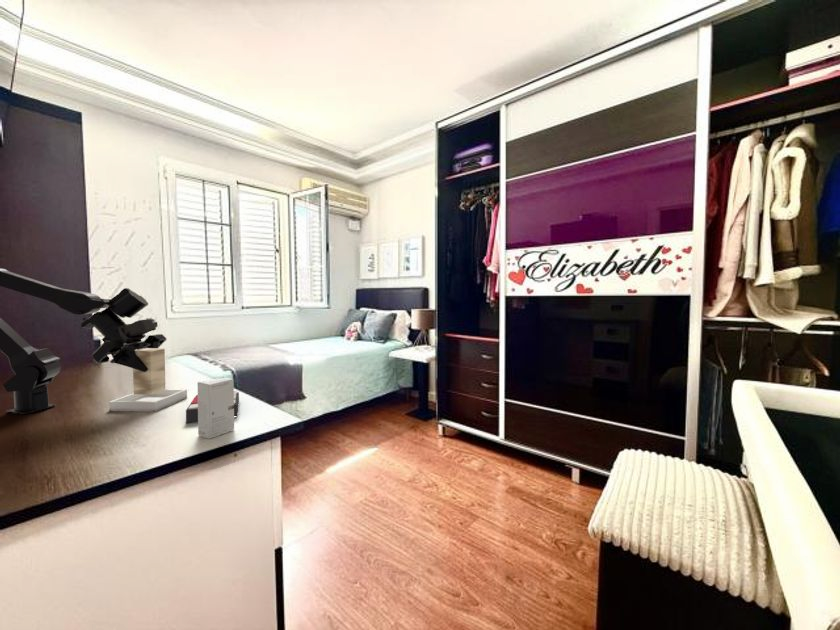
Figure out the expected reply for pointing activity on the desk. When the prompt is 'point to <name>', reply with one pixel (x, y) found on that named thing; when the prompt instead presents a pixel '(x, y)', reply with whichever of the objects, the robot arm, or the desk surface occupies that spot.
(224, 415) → the skincare box
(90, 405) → the desk surface
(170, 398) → the white tray
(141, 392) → the birch block
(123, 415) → the desk surface
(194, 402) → the calculator
